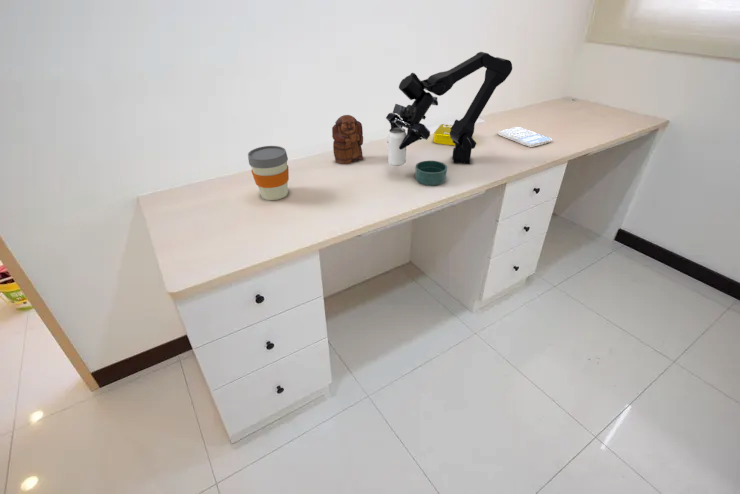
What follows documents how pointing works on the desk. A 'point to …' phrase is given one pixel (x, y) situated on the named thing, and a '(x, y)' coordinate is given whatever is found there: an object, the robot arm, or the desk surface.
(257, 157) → the reusable coffee cup
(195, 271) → the desk surface
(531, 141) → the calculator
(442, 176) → the bowl
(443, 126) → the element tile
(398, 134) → the can
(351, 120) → the wooden figurine
